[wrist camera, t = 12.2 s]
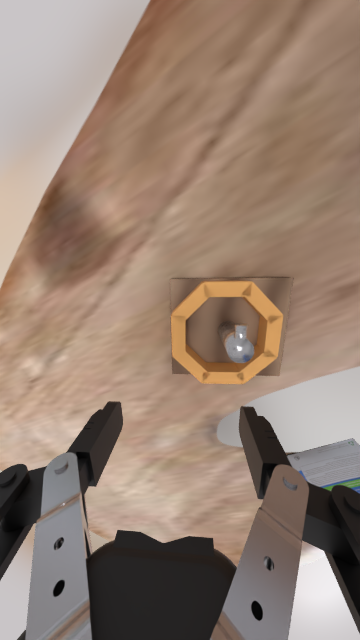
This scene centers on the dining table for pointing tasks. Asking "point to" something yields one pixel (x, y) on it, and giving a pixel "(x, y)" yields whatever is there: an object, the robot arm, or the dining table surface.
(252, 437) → the robot arm
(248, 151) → the dining table surface
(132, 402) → the dining table surface
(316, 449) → the string lights box
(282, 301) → the hook stand
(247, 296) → the orange octagonal ring
